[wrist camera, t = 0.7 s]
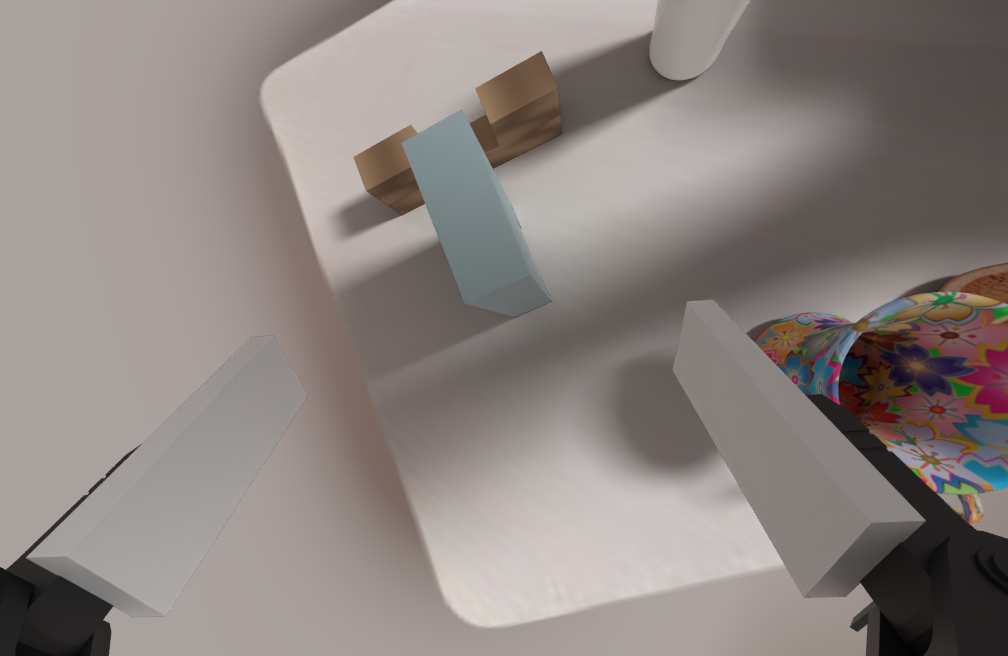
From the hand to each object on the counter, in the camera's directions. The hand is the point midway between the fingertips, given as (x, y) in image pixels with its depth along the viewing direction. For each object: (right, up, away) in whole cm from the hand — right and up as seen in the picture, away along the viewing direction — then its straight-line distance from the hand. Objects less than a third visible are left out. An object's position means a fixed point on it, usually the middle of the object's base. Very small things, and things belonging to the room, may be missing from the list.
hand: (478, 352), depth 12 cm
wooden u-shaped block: (-2, +16, +20) cm, 26 cm away
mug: (+24, -4, +15) cm, 28 cm away
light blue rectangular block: (+2, +7, +19) cm, 21 cm away
